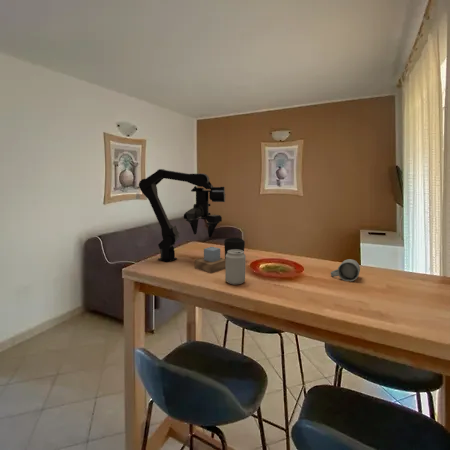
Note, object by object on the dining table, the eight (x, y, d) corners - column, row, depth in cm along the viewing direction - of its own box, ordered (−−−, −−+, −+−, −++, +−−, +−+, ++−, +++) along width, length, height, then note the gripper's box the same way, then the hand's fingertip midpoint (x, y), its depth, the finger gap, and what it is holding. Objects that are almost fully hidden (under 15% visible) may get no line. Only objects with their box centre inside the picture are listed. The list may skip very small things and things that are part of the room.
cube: (211, 257, 134) (211, 246, 133) (220, 259, 131) (220, 248, 130) (203, 260, 130) (203, 248, 130) (212, 262, 127) (212, 250, 127)
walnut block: (194, 268, 131) (194, 260, 131) (211, 264, 138) (211, 255, 138) (211, 274, 125) (211, 264, 124) (227, 268, 132) (227, 259, 131)
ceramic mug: (359, 276, 122) (361, 258, 121) (358, 283, 115) (359, 263, 113) (332, 273, 127) (333, 255, 125) (328, 279, 119) (329, 260, 118)
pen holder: (220, 261, 141) (220, 240, 139) (230, 257, 149) (231, 236, 147) (238, 264, 136) (238, 243, 134) (247, 260, 144) (248, 239, 142)
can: (243, 286, 111) (244, 254, 109) (223, 284, 112) (223, 253, 110) (246, 279, 118) (247, 249, 116) (227, 277, 119) (227, 248, 117)
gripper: (174, 201, 136) (175, 235, 139) (205, 204, 125) (205, 241, 127) (192, 200, 145) (192, 232, 148) (222, 202, 133) (222, 237, 136)
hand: (202, 235), depth 139 cm, fingers open, 9 cm apart
